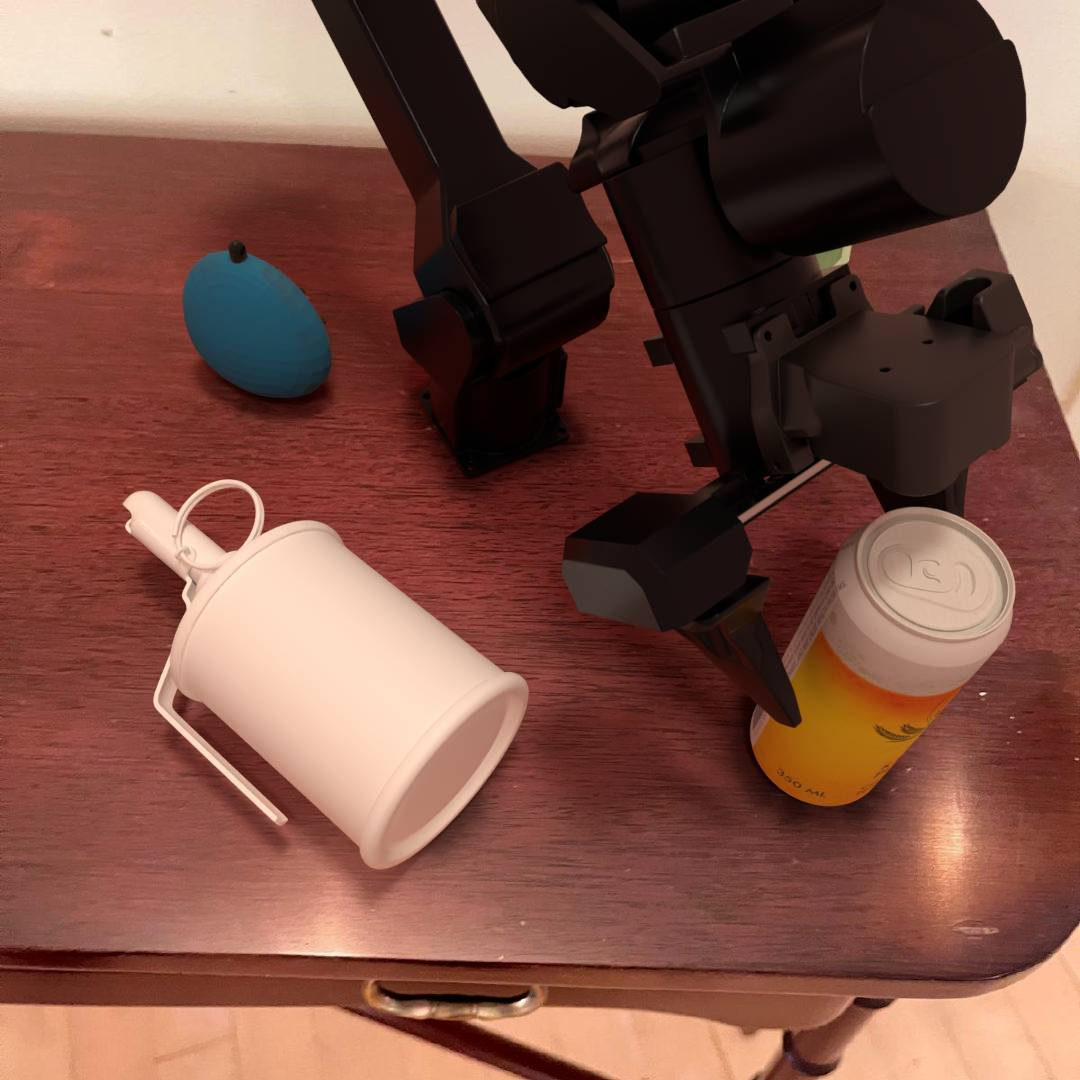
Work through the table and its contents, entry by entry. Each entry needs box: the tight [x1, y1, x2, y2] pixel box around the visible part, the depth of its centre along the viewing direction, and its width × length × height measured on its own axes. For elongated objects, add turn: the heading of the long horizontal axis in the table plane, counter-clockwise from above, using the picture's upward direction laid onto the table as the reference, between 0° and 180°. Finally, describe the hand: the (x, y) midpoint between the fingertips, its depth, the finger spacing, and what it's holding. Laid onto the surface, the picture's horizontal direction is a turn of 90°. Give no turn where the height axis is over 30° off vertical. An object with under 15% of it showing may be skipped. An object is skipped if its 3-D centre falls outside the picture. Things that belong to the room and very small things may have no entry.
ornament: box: [181, 239, 333, 399], centre depth 53 cm, size 8×5×10 cm, turn 70°
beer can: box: [749, 507, 1016, 807], centre depth 40 cm, size 6×6×15 cm
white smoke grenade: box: [122, 479, 530, 870], centre depth 43 cm, size 10×9×20 cm
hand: (871, 657), depth 39 cm, fingers open, 9 cm apart
